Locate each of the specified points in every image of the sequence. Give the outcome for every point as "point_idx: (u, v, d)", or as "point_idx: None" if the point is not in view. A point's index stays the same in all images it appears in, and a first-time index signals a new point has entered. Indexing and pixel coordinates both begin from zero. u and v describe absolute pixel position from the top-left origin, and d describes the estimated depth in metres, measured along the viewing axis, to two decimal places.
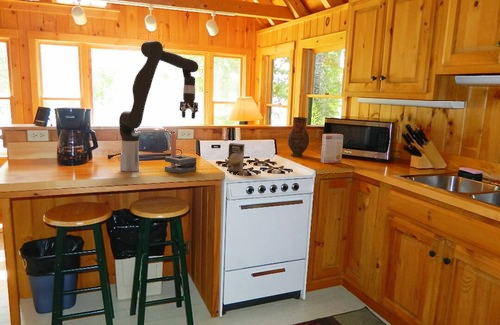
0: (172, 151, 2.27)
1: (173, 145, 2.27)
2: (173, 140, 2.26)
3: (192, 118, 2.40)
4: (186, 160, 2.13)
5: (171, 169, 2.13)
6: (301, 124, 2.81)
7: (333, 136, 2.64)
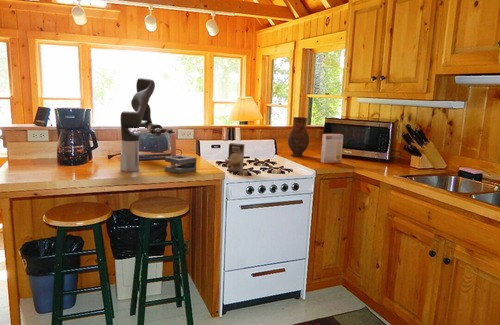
0: (172, 151, 2.27)
1: (173, 145, 2.27)
2: (173, 140, 2.26)
3: (172, 131, 2.38)
4: (186, 160, 2.13)
5: (171, 169, 2.13)
6: (301, 124, 2.81)
7: (333, 136, 2.64)
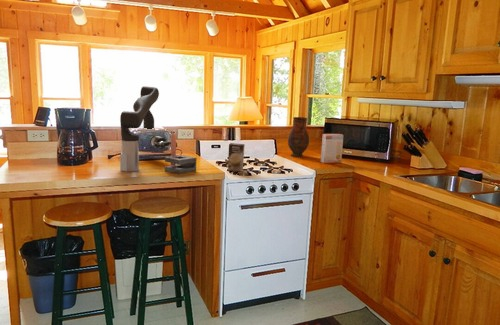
0: (172, 151, 2.27)
1: (173, 145, 2.27)
2: (173, 140, 2.26)
3: (176, 144, 2.34)
4: (186, 160, 2.13)
5: (171, 169, 2.13)
6: (301, 124, 2.81)
7: (333, 136, 2.64)
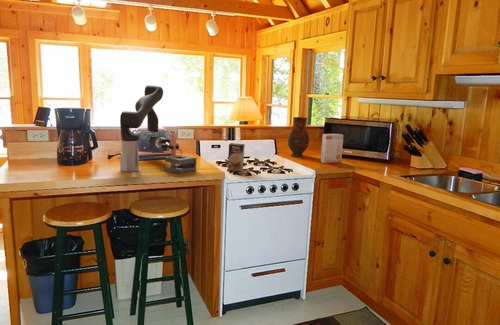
0: (172, 151, 2.27)
1: (173, 145, 2.27)
2: (173, 140, 2.26)
3: (178, 146, 2.27)
4: (186, 160, 2.13)
5: (171, 169, 2.13)
6: (301, 124, 2.81)
7: (333, 136, 2.64)
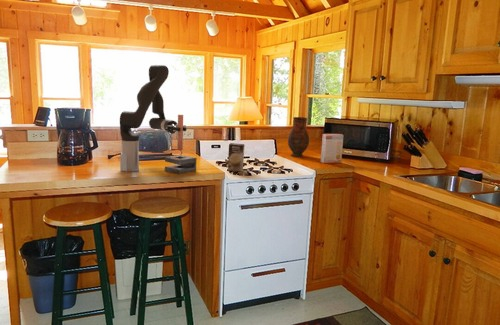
0: (179, 133, 2.13)
1: (180, 127, 2.12)
2: (180, 121, 2.12)
3: None
4: (186, 160, 2.13)
5: (171, 169, 2.13)
6: (301, 124, 2.81)
7: (333, 136, 2.64)
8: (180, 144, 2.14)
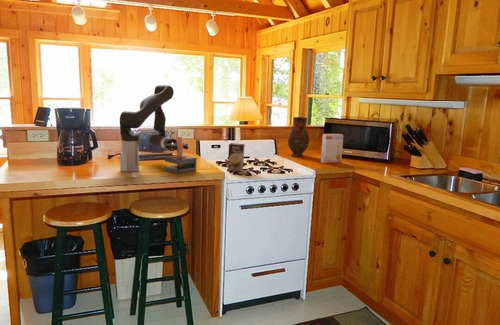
0: (178, 155, 2.15)
1: (179, 149, 2.14)
2: (179, 143, 2.14)
3: (187, 146, 2.16)
4: (186, 160, 2.13)
5: (171, 169, 2.13)
6: (301, 124, 2.81)
7: (333, 136, 2.64)
8: (179, 166, 2.16)
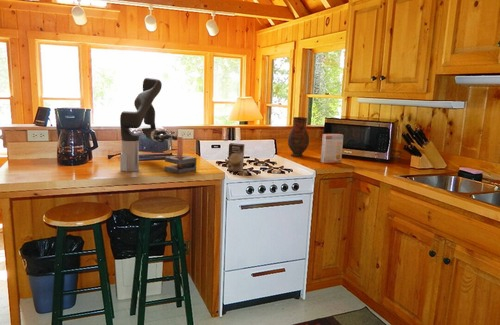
0: (178, 155, 2.15)
1: (179, 149, 2.15)
2: (180, 143, 2.14)
3: None
4: (186, 160, 2.13)
5: (171, 169, 2.13)
6: (301, 124, 2.81)
7: (333, 136, 2.64)
8: (180, 166, 2.16)
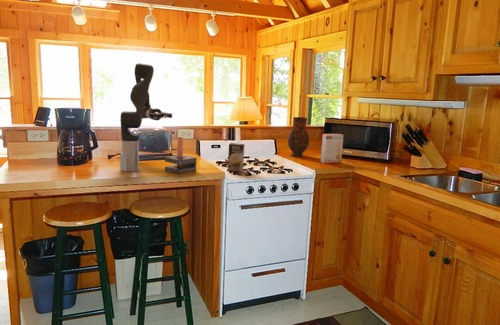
0: (179, 155, 2.15)
1: (180, 149, 2.15)
2: (180, 143, 2.14)
3: (171, 114, 2.33)
4: (186, 160, 2.13)
5: (171, 169, 2.13)
6: (301, 124, 2.81)
7: (333, 136, 2.64)
8: (180, 166, 2.16)
